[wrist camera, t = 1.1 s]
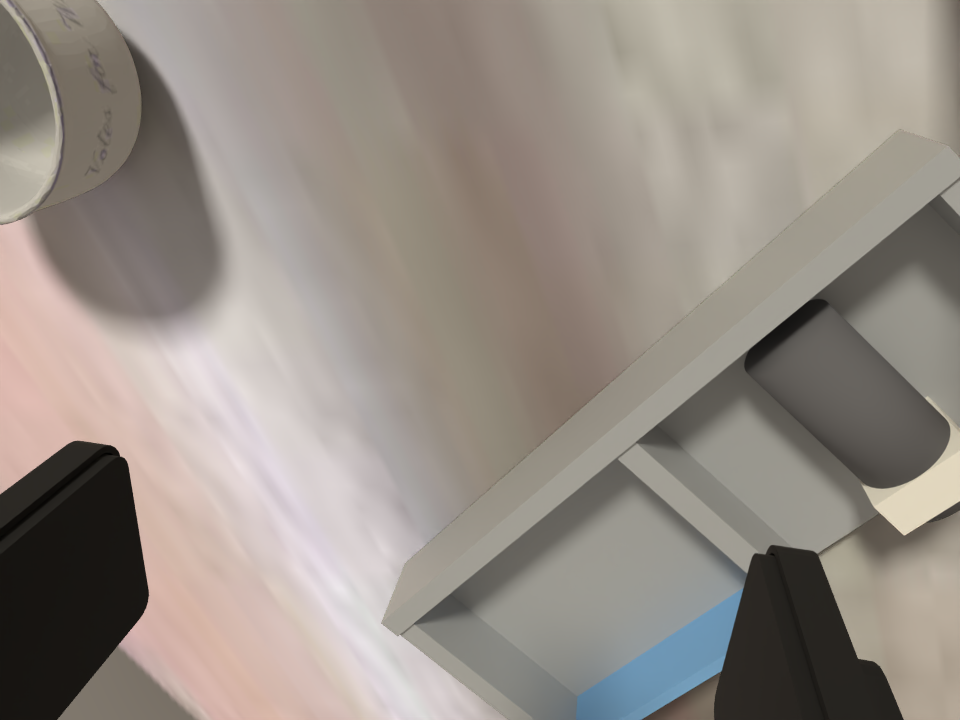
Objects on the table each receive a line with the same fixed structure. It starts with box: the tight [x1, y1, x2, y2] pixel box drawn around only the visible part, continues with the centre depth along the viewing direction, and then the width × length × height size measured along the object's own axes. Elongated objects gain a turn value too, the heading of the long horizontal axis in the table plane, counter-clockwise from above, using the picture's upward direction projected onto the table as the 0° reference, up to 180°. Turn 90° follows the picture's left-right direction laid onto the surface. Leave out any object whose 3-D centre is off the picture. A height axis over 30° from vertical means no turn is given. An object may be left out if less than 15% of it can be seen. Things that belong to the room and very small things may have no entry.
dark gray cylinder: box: [744, 299, 960, 536], centre depth 32 cm, size 10×4×4 cm, turn 49°
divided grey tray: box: [381, 129, 960, 720], centre depth 36 cm, size 34×14×5 cm, turn 139°
